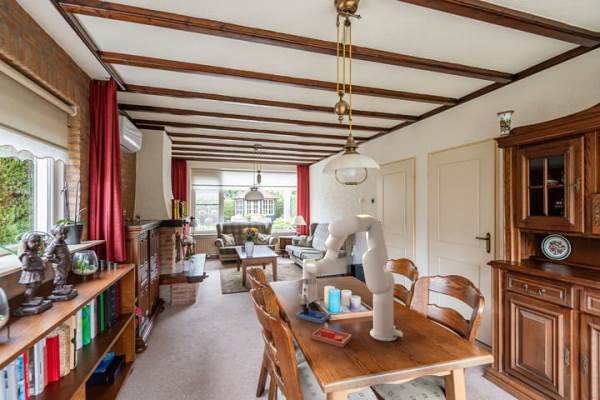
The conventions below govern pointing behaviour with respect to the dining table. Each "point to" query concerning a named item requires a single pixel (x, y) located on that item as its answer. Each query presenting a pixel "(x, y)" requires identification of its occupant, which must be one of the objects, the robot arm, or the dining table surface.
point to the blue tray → (323, 317)
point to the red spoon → (331, 335)
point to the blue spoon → (314, 315)
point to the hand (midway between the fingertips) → (309, 312)
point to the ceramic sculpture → (300, 299)
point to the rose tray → (317, 336)
